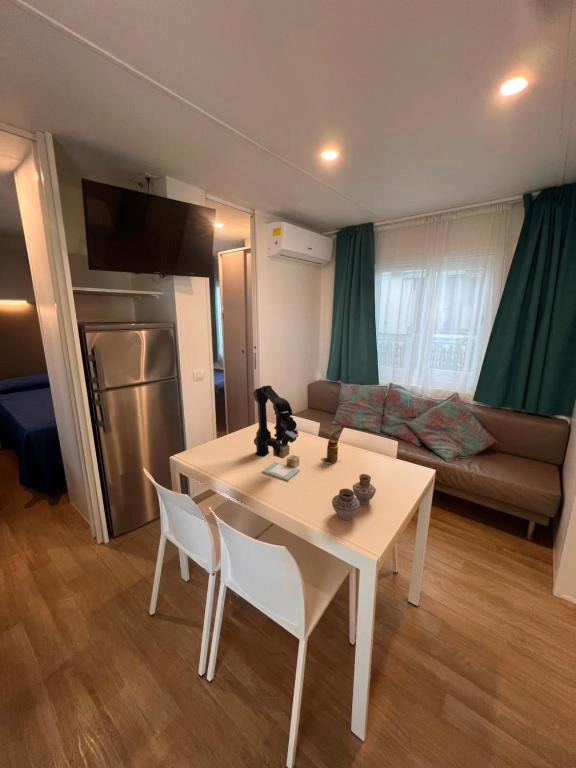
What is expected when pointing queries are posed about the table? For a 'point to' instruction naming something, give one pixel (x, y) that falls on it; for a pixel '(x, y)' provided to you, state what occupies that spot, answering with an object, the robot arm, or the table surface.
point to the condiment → (331, 452)
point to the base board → (281, 471)
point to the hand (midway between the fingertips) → (281, 453)
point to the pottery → (353, 498)
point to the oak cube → (293, 461)
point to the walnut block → (282, 451)
